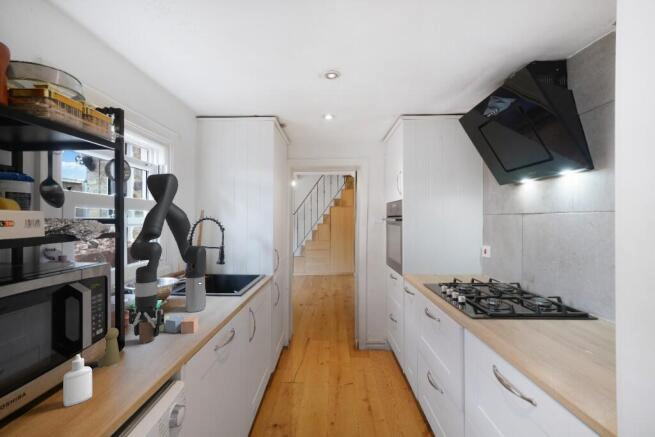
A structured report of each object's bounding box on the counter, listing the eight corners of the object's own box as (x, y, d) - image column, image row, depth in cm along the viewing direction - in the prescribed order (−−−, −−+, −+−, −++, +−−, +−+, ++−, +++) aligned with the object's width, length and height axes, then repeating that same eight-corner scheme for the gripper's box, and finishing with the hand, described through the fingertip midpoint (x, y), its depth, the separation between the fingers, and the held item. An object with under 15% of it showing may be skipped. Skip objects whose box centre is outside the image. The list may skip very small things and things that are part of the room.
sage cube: (158, 327, 129) (158, 315, 129) (169, 327, 129) (169, 315, 129) (151, 331, 124) (151, 319, 124) (163, 331, 124) (163, 319, 124)
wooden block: (138, 341, 113) (138, 321, 113) (149, 338, 116) (149, 318, 116) (144, 344, 111) (144, 322, 111) (154, 340, 114) (154, 319, 114)
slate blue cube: (174, 327, 128) (174, 316, 128) (184, 328, 127) (184, 317, 127) (165, 331, 123) (165, 319, 123) (175, 333, 122) (175, 321, 122)
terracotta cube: (186, 329, 126) (186, 317, 126) (198, 328, 126) (198, 317, 126) (181, 333, 121) (181, 321, 121) (193, 333, 121) (193, 321, 121)
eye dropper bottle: (87, 403, 75) (87, 356, 75) (60, 408, 73) (60, 360, 73) (94, 394, 79) (94, 349, 79) (68, 398, 77) (68, 352, 77)
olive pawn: (124, 359, 99) (124, 326, 99) (105, 368, 93) (105, 333, 93) (111, 356, 101) (111, 324, 101) (92, 365, 95) (92, 331, 95)
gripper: (169, 291, 116) (169, 333, 116) (138, 290, 119) (138, 331, 119) (155, 296, 109) (155, 340, 109) (122, 295, 111) (122, 338, 111)
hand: (146, 335), depth 114 cm, fingers open, 7 cm apart
